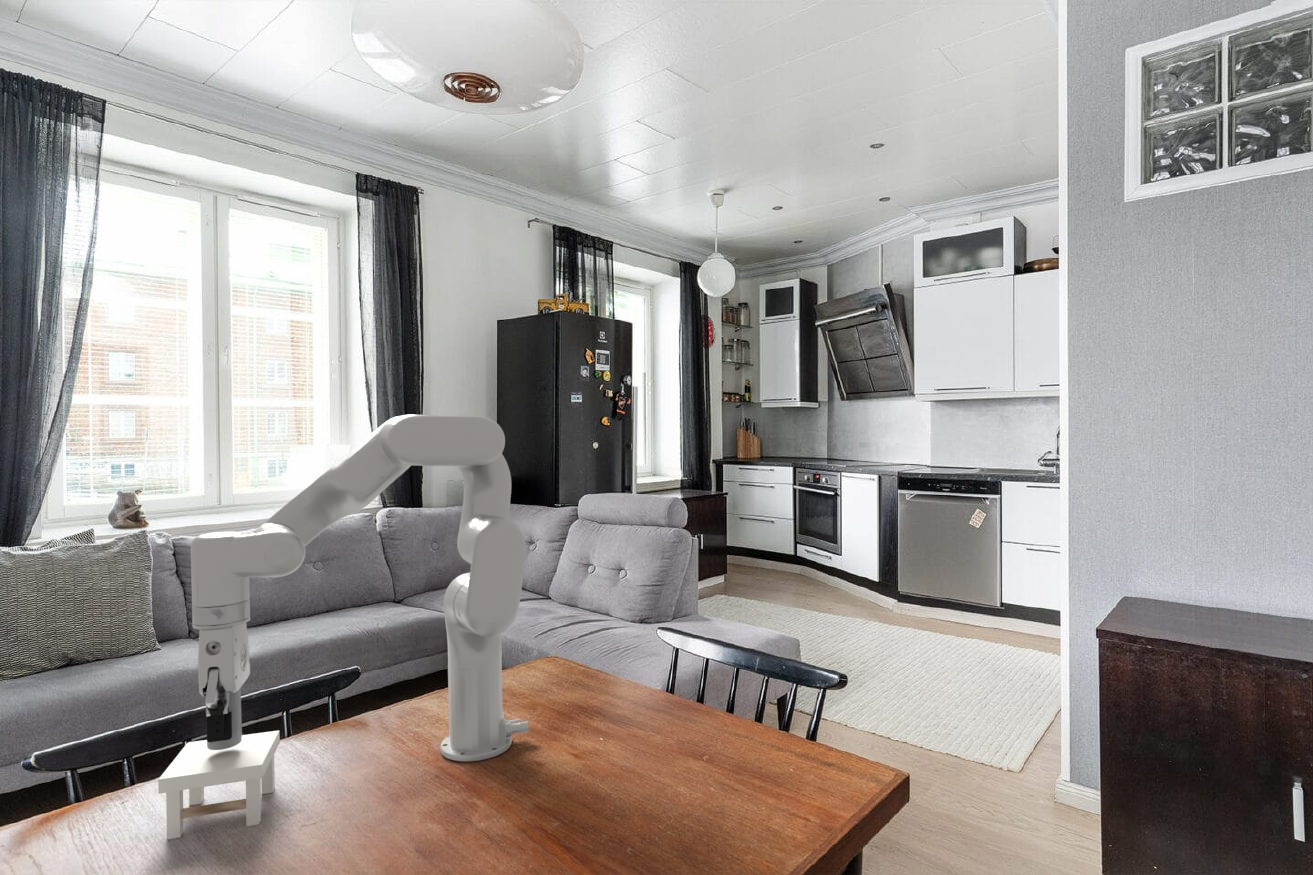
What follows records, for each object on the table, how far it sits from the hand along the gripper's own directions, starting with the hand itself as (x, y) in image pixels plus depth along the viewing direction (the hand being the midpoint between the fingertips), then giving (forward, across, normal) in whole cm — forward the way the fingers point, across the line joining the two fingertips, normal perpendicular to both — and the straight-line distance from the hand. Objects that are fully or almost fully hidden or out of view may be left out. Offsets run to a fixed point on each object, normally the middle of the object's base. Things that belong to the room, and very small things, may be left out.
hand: (224, 731), depth 108 cm
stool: (+12, 0, 0) cm, 12 cm away
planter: (+2, 0, 0) cm, 2 cm away
